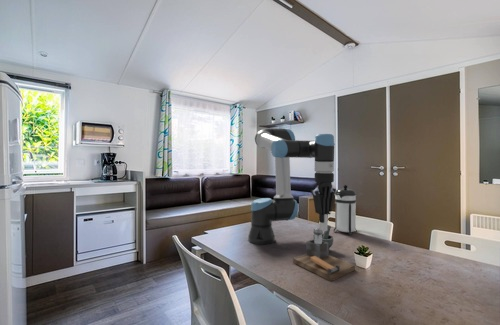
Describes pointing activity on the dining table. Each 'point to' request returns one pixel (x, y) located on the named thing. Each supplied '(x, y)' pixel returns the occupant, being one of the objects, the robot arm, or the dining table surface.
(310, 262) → the hitch board
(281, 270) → the dining table surface
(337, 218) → the coffee press
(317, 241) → the pin
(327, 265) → the strip
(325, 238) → the mortar and pestle
